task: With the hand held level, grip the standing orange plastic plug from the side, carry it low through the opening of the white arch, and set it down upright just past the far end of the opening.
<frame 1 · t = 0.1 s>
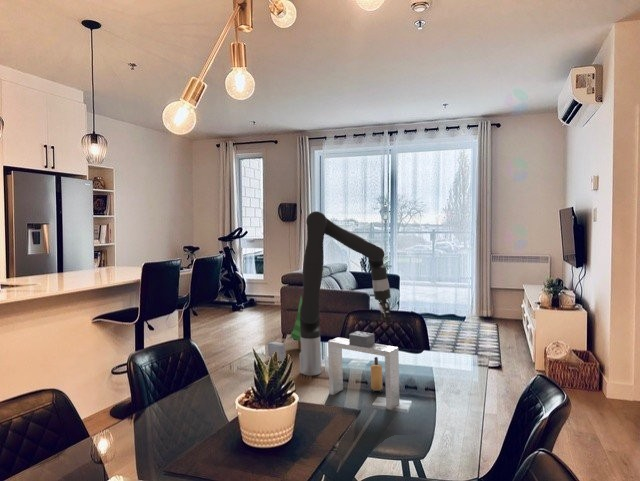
hand: (386, 322, 212), 22 cm above the table, tool pointing down, fingers open, 8 cm apart
white arch: (363, 398, 180), on the table
orange plug: (376, 389, 189), on the table
medicine box: (277, 360, 231), on the table
decorative tree: (302, 349, 250), on the table
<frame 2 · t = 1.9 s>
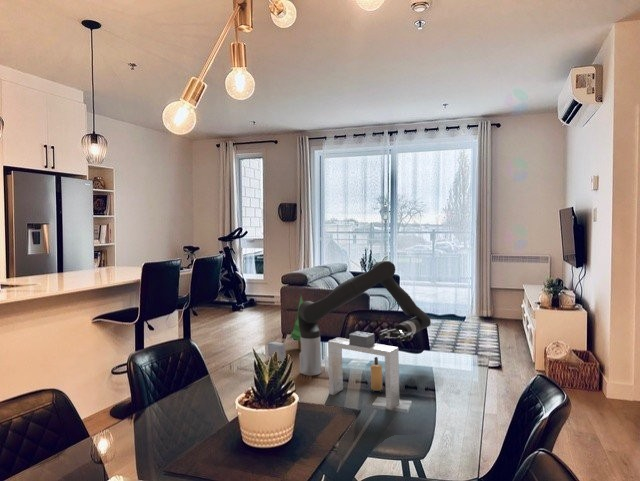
hand: (388, 338, 196), 19 cm above the table, tool horizontal, fingers open, 8 cm apart
nothing on the table moved.
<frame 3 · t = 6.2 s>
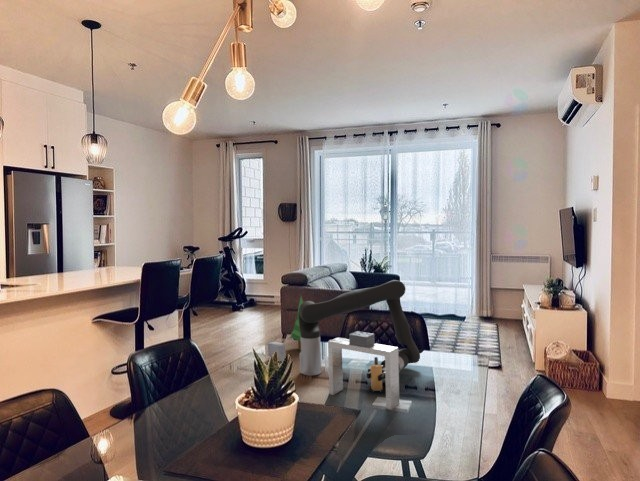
hand: (373, 377, 186), 6 cm above the table, tool horizontal, fingers closed on orange plug, 4 cm apart
orange plug: (376, 389, 188), on the table, touching gripper
everything else where it was.
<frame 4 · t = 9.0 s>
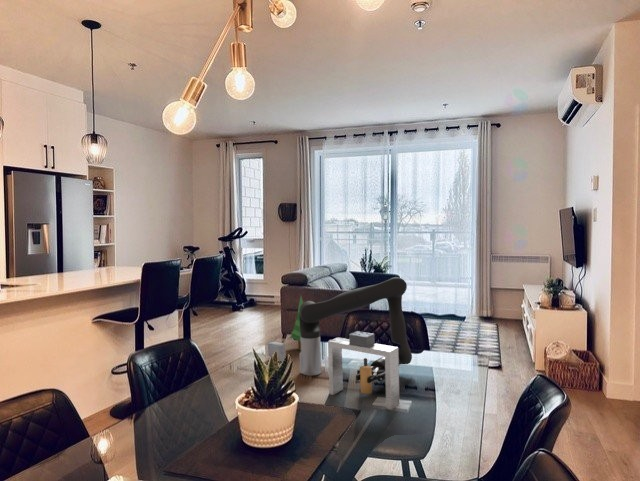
hand: (362, 379, 179), 8 cm above the table, tool horizontal, fingers closed on orange plug, 4 cm apart
orange plug: (366, 391, 181), point 2 cm above the table, touching gripper
everything else where it was.
when the fingers open (7 cm above the table, at t = 12.0 s): orange plug stays where it is, on the table.
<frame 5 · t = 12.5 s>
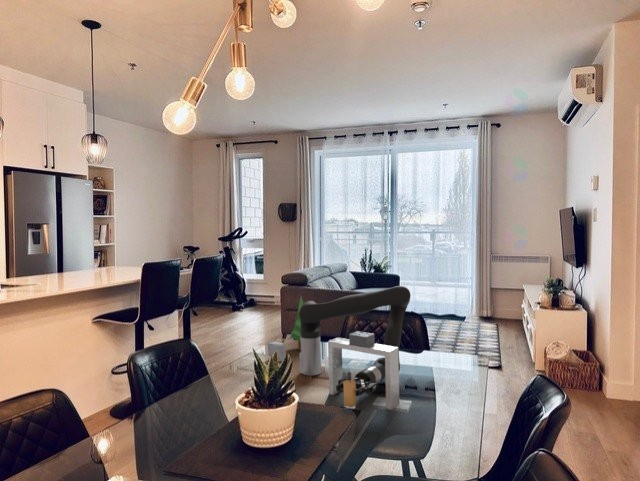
hand: (346, 391, 170), 7 cm above the table, tool horizontal, fingers open, 8 cm apart
orange plug: (350, 407, 172), on the table
everything else where it was.
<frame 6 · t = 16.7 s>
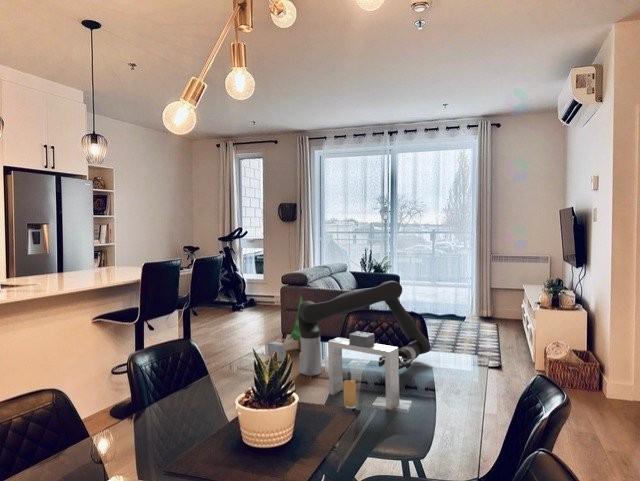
hand: (388, 366, 196), 7 cm above the table, tool horizontal, fingers open, 8 cm apart
nothing on the table moved.
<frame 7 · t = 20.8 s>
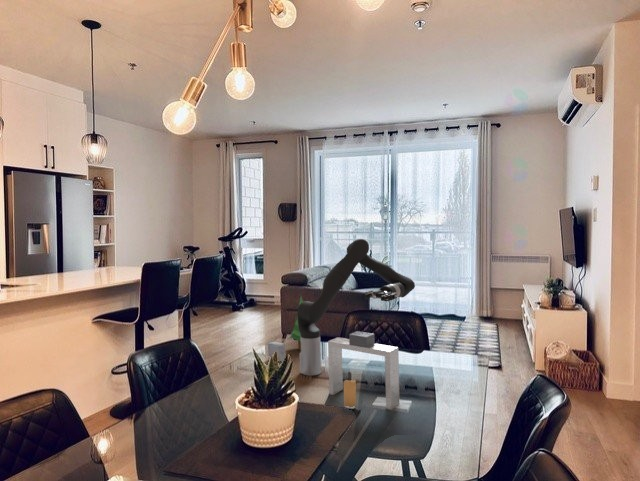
hand: (373, 297, 206), 35 cm above the table, tool horizontal, fingers open, 8 cm apart
nothing on the table moved.
at the end: orange plug inside the target area (0.1 cm from its centre), on the table; orange plug tilted 1°; the gripper is holding nothing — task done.
